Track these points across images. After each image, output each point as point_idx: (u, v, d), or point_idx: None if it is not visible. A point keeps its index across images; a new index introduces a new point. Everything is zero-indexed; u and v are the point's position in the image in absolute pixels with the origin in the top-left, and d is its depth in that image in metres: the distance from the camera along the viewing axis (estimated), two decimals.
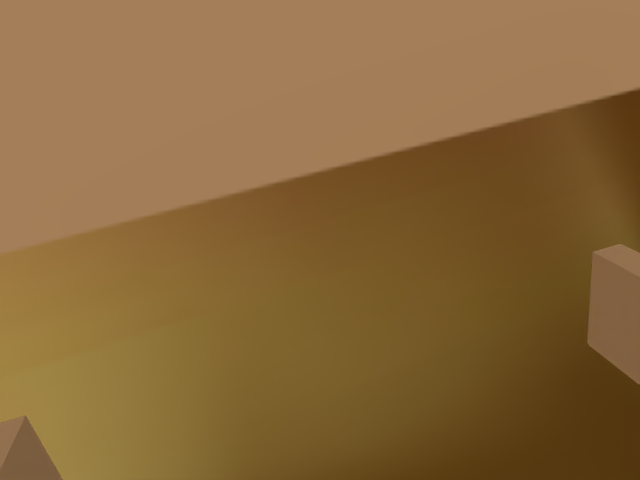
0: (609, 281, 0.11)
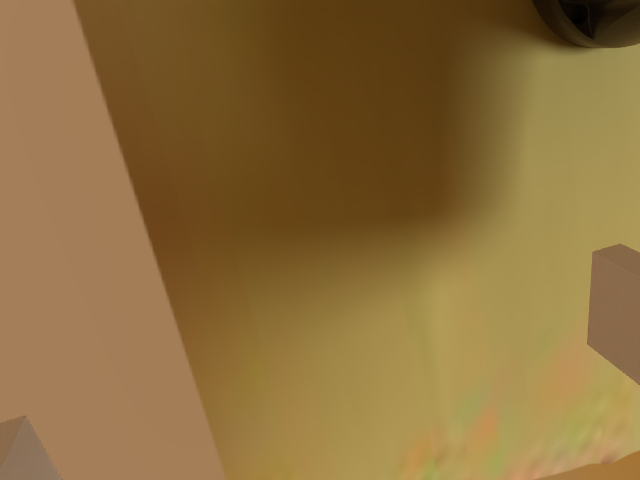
0: (609, 281, 0.11)
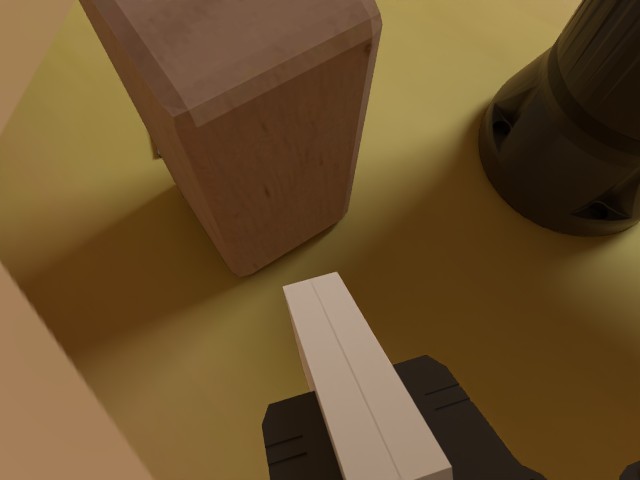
0: None
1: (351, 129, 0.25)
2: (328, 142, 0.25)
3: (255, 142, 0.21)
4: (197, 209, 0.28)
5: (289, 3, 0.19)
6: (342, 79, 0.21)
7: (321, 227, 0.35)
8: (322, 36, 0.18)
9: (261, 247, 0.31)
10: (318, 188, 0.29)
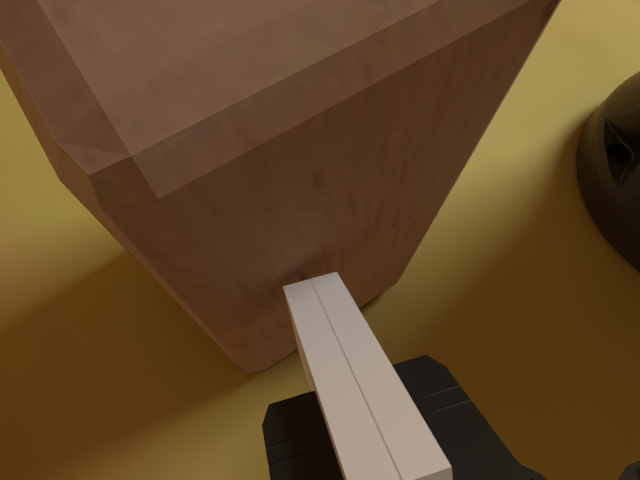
0: None
1: (454, 169, 0.14)
2: (415, 193, 0.14)
3: (296, 210, 0.10)
4: None
5: None
6: (482, 76, 0.10)
7: (368, 298, 0.24)
8: None
9: (284, 341, 0.20)
10: (380, 257, 0.18)
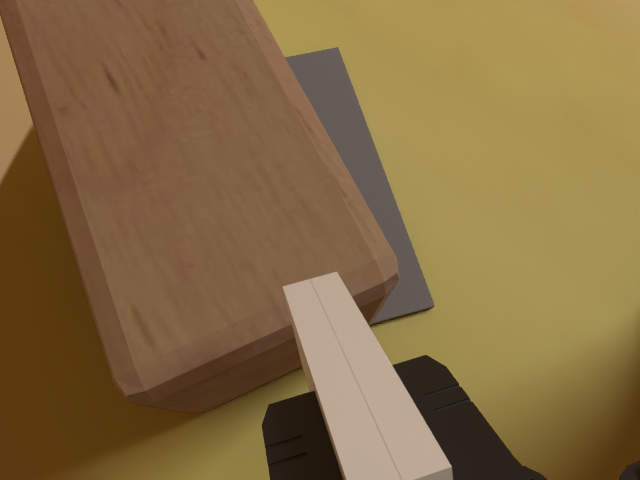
0: None
1: (229, 10, 0.19)
2: (194, 21, 0.19)
3: None
4: None
5: None
6: None
7: (312, 262, 0.16)
8: None
9: (140, 245, 0.16)
10: (226, 113, 0.18)
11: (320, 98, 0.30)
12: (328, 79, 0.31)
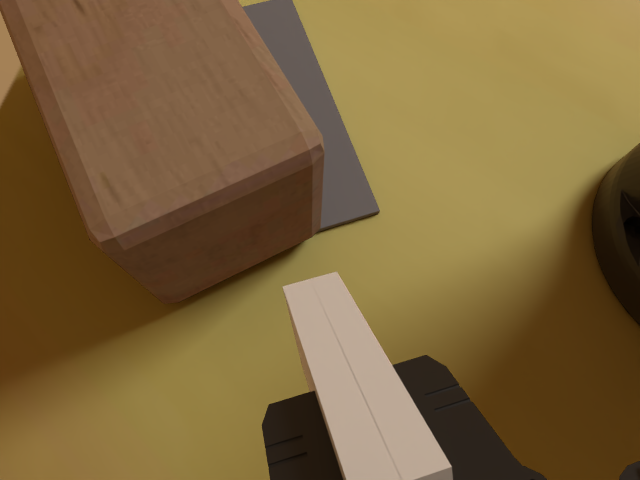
0: None
1: None
2: None
3: None
4: None
5: None
6: None
7: (249, 135, 0.19)
8: None
9: (107, 128, 0.19)
10: (176, 26, 0.21)
11: (275, 40, 0.33)
12: (282, 24, 0.34)
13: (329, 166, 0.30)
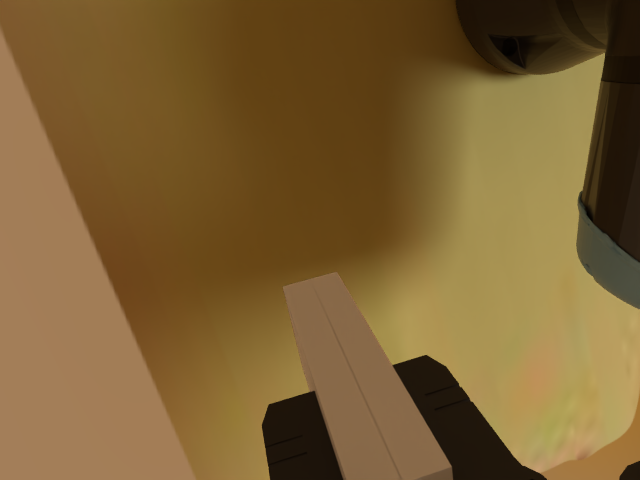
0: None
1: None
2: None
3: None
4: None
5: None
6: None
7: None
8: None
9: None
10: None
11: None
12: None
13: None
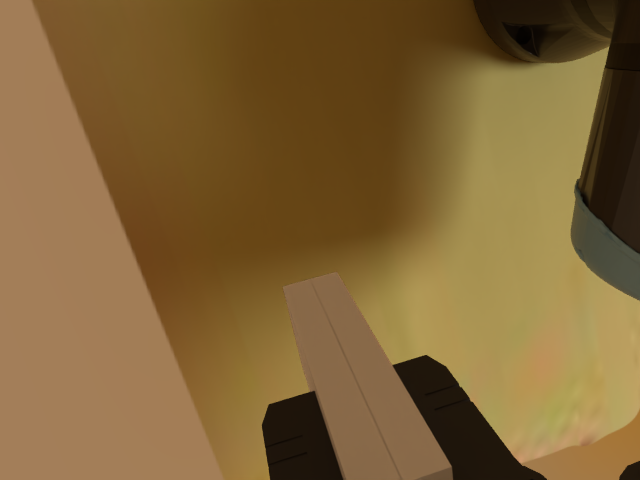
0: None
1: None
2: None
3: None
4: None
5: None
6: None
7: None
8: None
9: None
10: None
11: None
12: None
13: None
